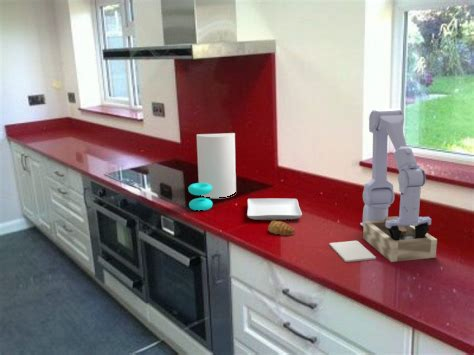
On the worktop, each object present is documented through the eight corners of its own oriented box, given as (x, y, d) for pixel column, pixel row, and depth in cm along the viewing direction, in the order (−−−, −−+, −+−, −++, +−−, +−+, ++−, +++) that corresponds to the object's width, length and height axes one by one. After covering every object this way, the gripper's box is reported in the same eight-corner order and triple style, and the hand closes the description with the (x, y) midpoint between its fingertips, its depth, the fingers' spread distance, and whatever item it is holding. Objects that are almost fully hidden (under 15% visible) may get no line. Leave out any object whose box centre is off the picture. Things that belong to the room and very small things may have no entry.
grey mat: (329, 244, 160) (329, 243, 160) (357, 242, 161) (357, 240, 161) (345, 262, 146) (345, 260, 146) (375, 259, 148) (376, 257, 148)
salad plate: (302, 222, 182) (302, 214, 181) (247, 223, 182) (247, 214, 182) (296, 205, 202) (297, 197, 202) (247, 206, 203) (247, 198, 202)
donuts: (190, 181, 204) (213, 182, 203) (191, 204, 206) (214, 204, 205) (185, 188, 194) (209, 188, 193) (186, 211, 197) (210, 211, 196)
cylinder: (237, 197, 214) (236, 136, 207) (199, 199, 213) (196, 137, 206) (234, 187, 231) (233, 130, 223) (199, 188, 230) (196, 131, 222)
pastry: (297, 232, 172) (298, 222, 171) (288, 238, 167) (288, 228, 166) (275, 227, 177) (275, 217, 176) (266, 233, 172) (266, 223, 171)
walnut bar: (383, 221, 160) (385, 217, 159) (396, 220, 161) (397, 216, 159) (392, 236, 155) (394, 232, 153) (405, 235, 155) (407, 231, 154)
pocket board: (362, 237, 165) (363, 221, 163) (402, 234, 167) (403, 218, 166) (391, 262, 146) (392, 243, 144) (435, 257, 148) (437, 239, 147)
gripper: (394, 212, 142) (391, 254, 146) (438, 208, 145) (434, 249, 148) (383, 205, 149) (380, 245, 152) (425, 201, 151) (422, 241, 155)
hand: (406, 247), depth 151 cm, fingers open, 7 cm apart
